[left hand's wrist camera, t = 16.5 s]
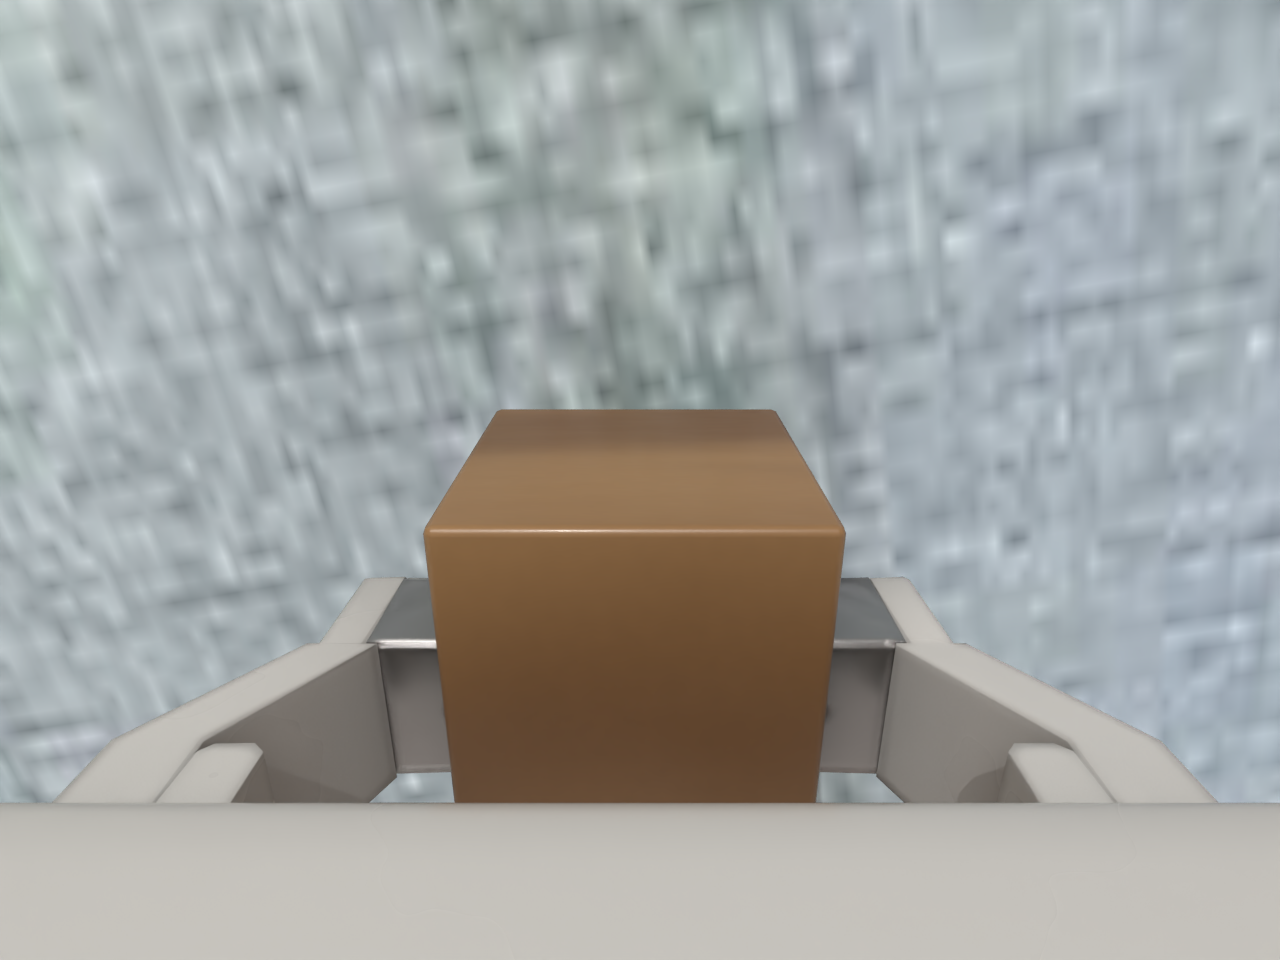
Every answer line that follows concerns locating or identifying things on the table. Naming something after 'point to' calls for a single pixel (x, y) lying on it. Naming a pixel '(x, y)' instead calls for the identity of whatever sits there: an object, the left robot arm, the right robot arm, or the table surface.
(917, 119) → the table surface
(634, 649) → the block
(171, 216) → the table surface
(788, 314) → the table surface
